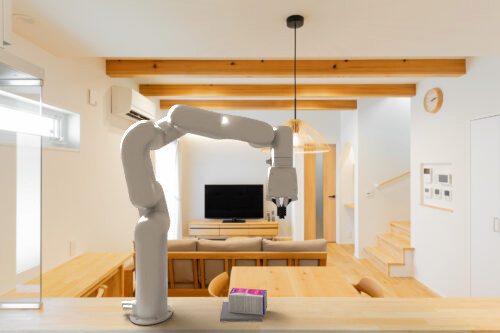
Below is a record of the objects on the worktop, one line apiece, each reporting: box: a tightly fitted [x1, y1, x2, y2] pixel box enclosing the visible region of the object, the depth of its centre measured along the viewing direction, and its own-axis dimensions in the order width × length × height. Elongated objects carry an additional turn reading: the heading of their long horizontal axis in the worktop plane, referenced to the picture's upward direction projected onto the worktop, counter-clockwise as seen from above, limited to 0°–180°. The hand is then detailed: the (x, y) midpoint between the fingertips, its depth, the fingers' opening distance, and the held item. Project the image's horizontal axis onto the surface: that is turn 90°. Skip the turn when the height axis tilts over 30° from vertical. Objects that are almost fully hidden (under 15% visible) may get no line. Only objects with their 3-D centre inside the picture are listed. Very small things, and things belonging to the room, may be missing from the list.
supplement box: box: [228, 287, 268, 316], centre depth 98 cm, size 6×6×12 cm
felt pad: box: [219, 301, 263, 322], centre depth 98 cm, size 12×12×1 cm
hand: (281, 218), depth 103 cm, fingers closed
